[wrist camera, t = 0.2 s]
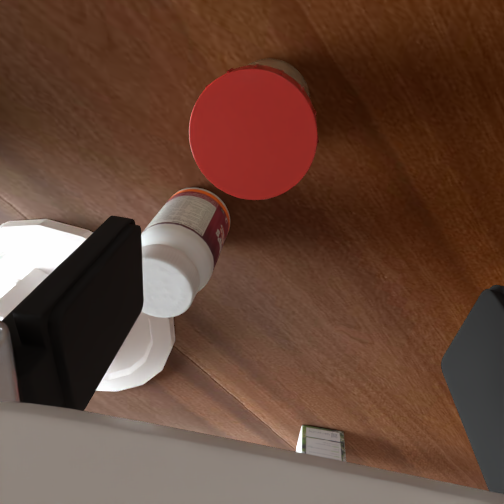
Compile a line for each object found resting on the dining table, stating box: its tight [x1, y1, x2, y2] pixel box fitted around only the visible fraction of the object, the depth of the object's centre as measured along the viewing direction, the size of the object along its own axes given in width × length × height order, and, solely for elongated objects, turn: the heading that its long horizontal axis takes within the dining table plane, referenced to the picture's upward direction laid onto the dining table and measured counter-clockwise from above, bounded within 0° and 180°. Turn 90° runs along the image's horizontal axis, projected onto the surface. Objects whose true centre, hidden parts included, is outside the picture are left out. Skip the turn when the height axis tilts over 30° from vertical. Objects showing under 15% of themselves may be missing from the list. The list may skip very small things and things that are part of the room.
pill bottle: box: [141, 187, 230, 318], centre depth 29 cm, size 6×6×11 cm
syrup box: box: [296, 425, 346, 462], centre depth 44 cm, size 6×6×14 cm
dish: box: [0, 219, 175, 391], centre depth 38 cm, size 25×25×11 cm
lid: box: [189, 63, 319, 200], centre depth 21 cm, size 7×7×2 cm
